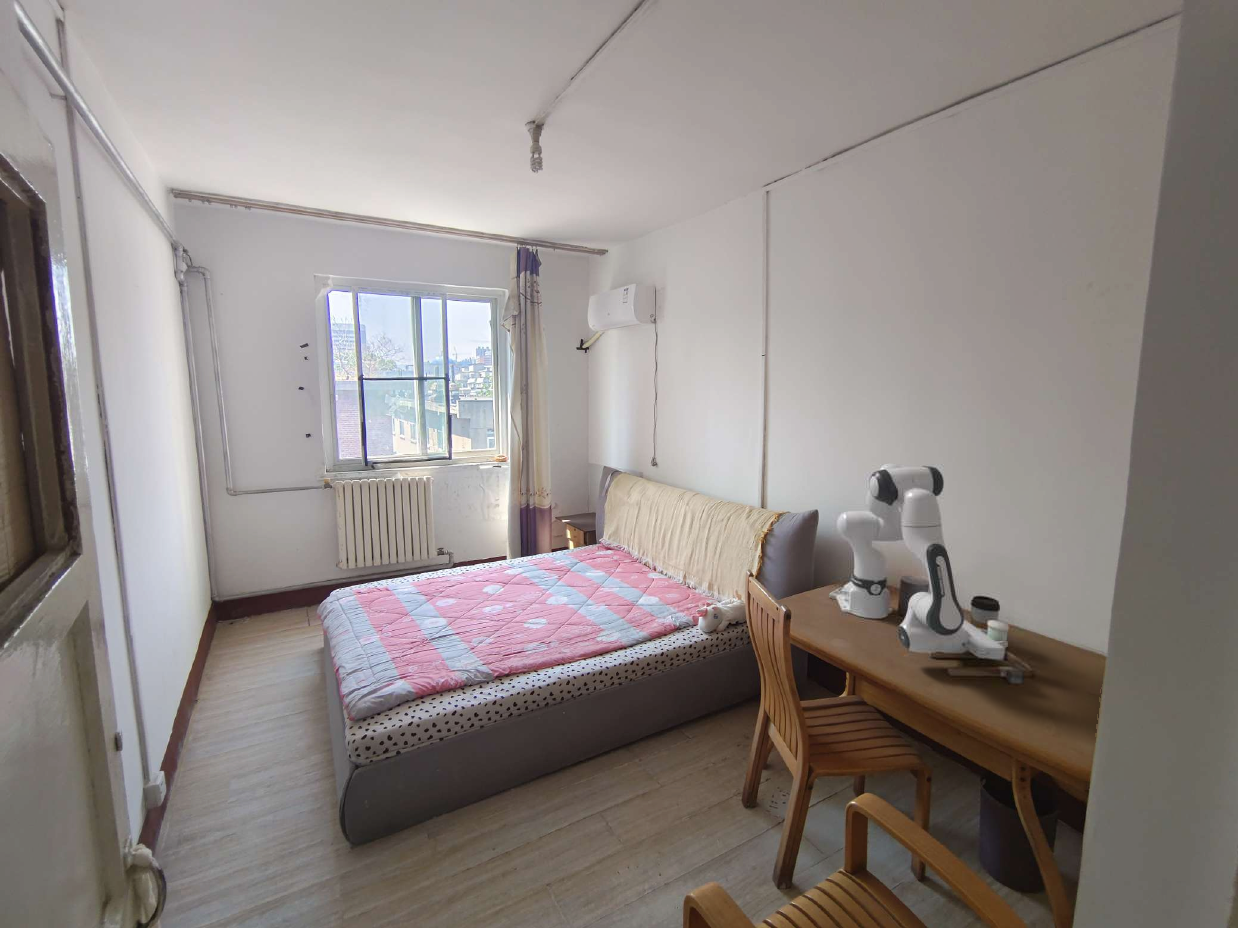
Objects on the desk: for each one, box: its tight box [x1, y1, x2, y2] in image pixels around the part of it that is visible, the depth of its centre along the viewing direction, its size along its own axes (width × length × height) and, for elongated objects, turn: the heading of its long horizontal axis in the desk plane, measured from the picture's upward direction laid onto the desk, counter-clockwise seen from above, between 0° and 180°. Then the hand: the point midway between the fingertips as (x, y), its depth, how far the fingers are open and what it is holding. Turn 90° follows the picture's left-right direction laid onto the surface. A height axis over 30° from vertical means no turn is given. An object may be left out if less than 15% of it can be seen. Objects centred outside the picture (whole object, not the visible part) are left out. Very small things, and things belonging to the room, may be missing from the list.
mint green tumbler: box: [987, 620, 1010, 662], centre depth 175 cm, size 5×5×11 cm
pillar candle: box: [896, 574, 930, 618], centre depth 214 cm, size 10×10×15 cm
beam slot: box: [927, 649, 1036, 684], centre depth 174 cm, size 16×25×3 cm, turn 89°
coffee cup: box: [970, 595, 1001, 630], centre depth 191 cm, size 8×8×15 cm
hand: (999, 638), depth 175 cm, fingers closed on mint green tumbler, 5 cm apart
